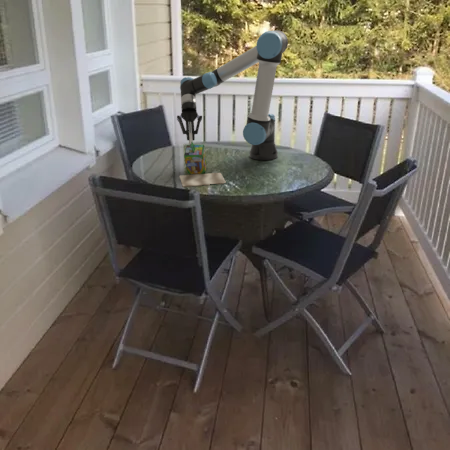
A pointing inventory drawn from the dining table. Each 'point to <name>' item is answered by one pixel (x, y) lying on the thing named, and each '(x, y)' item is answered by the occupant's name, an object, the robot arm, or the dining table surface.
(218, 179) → the board
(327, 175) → the dining table surface
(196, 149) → the chalk box
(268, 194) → the dining table surface
